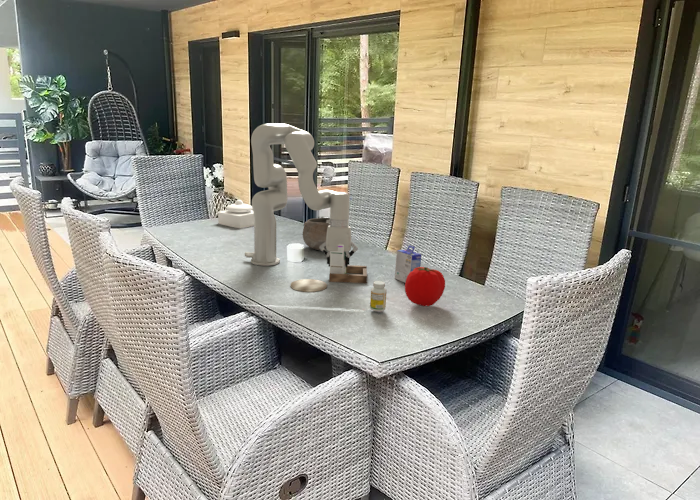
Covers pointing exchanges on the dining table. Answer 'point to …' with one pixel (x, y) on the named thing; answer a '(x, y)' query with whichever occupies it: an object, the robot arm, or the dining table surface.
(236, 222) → the butter dish
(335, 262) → the syrup box
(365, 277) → the shelf rack
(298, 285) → the pad
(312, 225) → the clay pot
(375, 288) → the supplement bottle
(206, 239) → the dining table surface
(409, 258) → the ink cartridge box
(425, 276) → the tomato
